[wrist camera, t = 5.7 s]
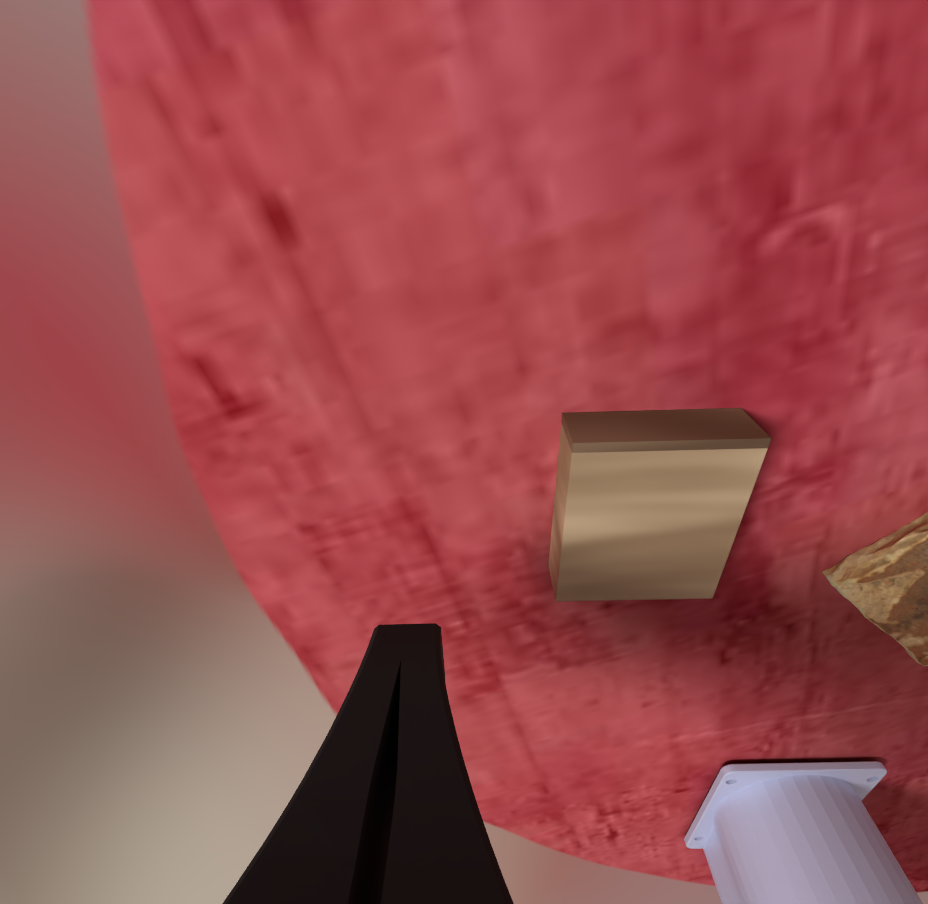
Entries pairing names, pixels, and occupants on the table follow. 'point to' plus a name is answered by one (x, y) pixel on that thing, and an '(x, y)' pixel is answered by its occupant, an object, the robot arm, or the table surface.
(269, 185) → the table surface
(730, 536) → the oak slab
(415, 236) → the table surface
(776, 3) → the table surface
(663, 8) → the table surface
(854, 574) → the shard
